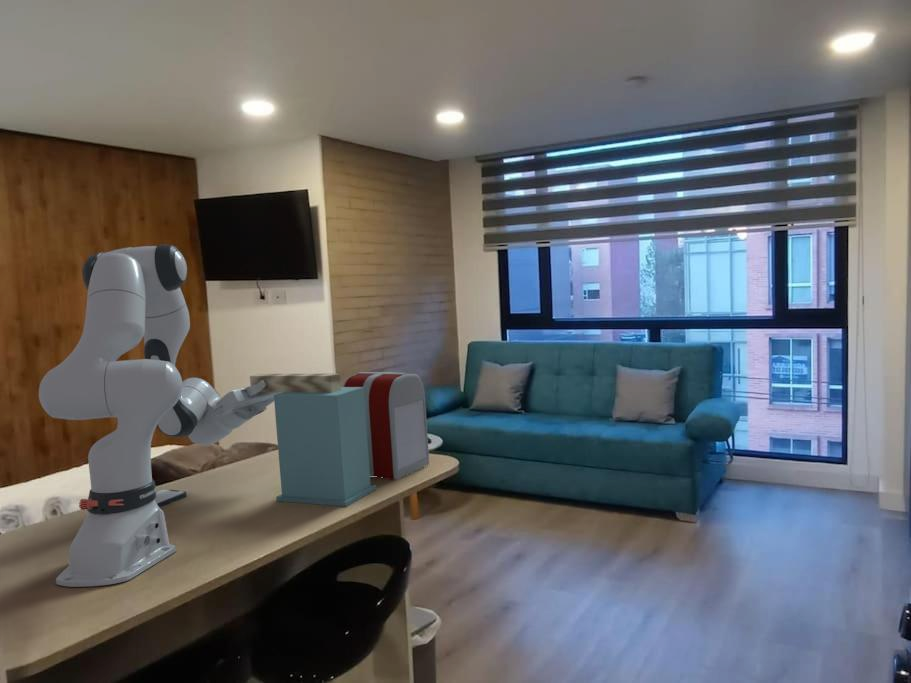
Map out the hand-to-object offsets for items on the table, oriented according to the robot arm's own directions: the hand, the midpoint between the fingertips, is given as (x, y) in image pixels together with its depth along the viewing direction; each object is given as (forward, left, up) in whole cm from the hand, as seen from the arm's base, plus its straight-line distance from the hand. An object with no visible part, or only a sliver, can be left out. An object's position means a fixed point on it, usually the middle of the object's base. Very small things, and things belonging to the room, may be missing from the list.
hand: (272, 381), depth 178 cm
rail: (-2, -6, -2) cm, 7 cm away
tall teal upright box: (-5, -13, -28) cm, 32 cm away
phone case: (-6, +31, -29) cm, 43 cm away
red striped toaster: (+17, -25, -29) cm, 42 cm away
